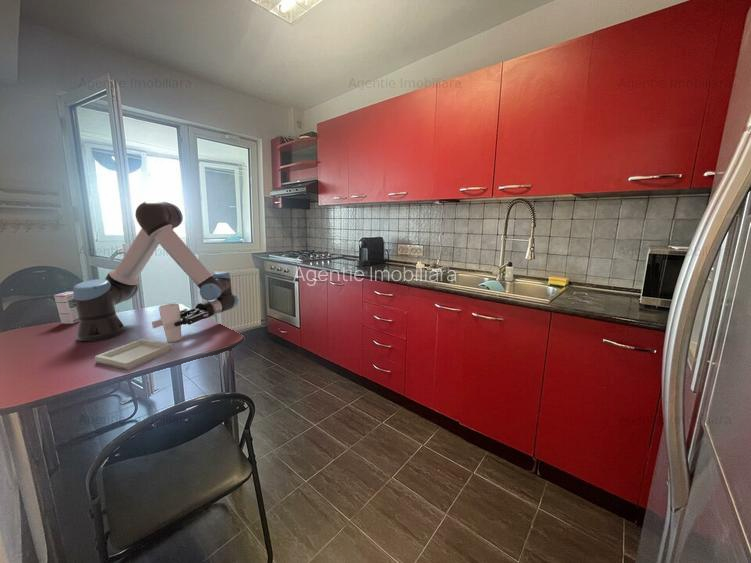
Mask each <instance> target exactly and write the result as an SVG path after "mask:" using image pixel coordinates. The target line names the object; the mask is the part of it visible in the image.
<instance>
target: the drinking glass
mask: <svg viewBox="0 0 751 563" xmlns="http://www.w3.org/2000/svg"><path fill="white" fill-rule="evenodd" d="M158 308H159V309H158V310H159V318H160V319H161V321H162V324H163V328H162V329H163V331H164V335H165V339H166V342H167V343H175V342H179V341H181V340H182V338H183V335H182V325H181V326H178V327H175V328H173V329H170V330H167V331H166V330H165V324H166V323H169V322H171V321H174V320H177V319H181V316H180V311H181V308H180V305H179V303H176V302H174V303H165V304H161V305H160V306H159V307H158ZM181 320H182V319H181Z"/></svg>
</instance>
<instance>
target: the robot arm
mask: <svg viewBox="0 0 751 563" xmlns="http://www.w3.org/2000/svg"><path fill="white" fill-rule="evenodd" d="M183 218H184V216H183V212H182V211H181V210H180V208H179V207H178V206H177V205H176V204H173V203H171V202H168V201H154V200H153V201H152V200H148V201H144V202H142V203H140V204H139V205H138V206H137V207H136V209H135V219H136V221H137V223H138V225H139V226H140V230H139V232H138V234H137V235H136V236H135V238H134V240H133V241H132V243H131V245H130V247H129V248H128V250H127V252H126V253H125V254H124V255H123V257H122V259H121V260H120V262H119V264H118V265H117V267H116V269H111V270H110V271H109V272H108V274H107V275H106V277H105V278H104V279H102V278H101V279H100V278H98V279H97V278H95V279H90V280H86V281H82V282H80V283H78V284H75V285H74V286H73V288H72V292H73V297H74V300H75V304H76V308H77V312H78V316H79V321H78V327H77V332H76V337H77V338H76V339H77V341H79V342H82V341H87V342H96V341H102V340H106V339H110V338H114V337H116V336H118V335H121V334H123V333H124V332H125V326H124V324H123V322H122V321H121V319H120V318H119V317H118V315H117V313H116V307H115V306H116V305H118V304H121V303H123V302H126V301H129V300H131V299H132V298H133V297H135V295H136V294H137V293H138V291H139V283H140V280H139V276H140V275H141V273H142V271H143V270H144V268H145V267H146V265H147V263H148V262H149V260H150V259H151V257H152V256H153V254H154V252H155V251H156V249H157V248H158V247H159V245H160V246H161V247H162V249H163V250H164V251H165V252H166V253H167V254H168V255H169V257H170V258H171V259H172V260H173V261H174V262H175V263H176V265H178V266H179V268H180V269H181V270H183V272H184V273H185V274H186V275H187V276H188V277H189V279H190V280H191V281H192V282H193V283H194V284H195V285H196V287H197V288H198V290H199V295H200V297H201V298H202V300H203V299H204V300H205V301H202V302H200V303H197V304H196V306H195V307H193V308H190V309H188V308H183V309H180V316H181V319H177V320H174V321H171V322H169V323H166V324H165V330H166V331H167V330H170V329H173V328H175V327H178V326H181V327H182V325H189V326H190V325H192V324H195V323H197V322H199V321H201V320H206V319H208V318H211V317H212V316H214V317H215V316H216V315H218V314H221V313H224V312H227V311H229V310H232V309H233V308H235V307H237V306H238V304H239V298H238V296H237V295H236V294H235V293H233V289H232V278H231V274H230V272H228V271H222V270H221V271H215V272H213V274H212V273H211V272H210V271H209V270H208V269H207V267H206V266H205V265H204V264H203V263H202V261H201V260H200V259H199V258H198V257H197V256H196V255H195V254H194V252H193V251H192V250H191V249H190V248H189V247H188V246H187V245H186V243H185V242H184V241H183V240H182V239H181V238H180V237H179V235H178V234H177V233H176V232H175V230H174V229H175V228H177V227H179V226H181V224H182V223H183V220H184V219H183ZM151 325H152V329H157V328H159V327H162V326H163V324H162V321H161V318H159V319H156V320H153V321H151Z"/></svg>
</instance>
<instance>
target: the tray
mask: <svg viewBox="0 0 751 563" xmlns="http://www.w3.org/2000/svg"><path fill="white" fill-rule="evenodd" d="M172 351H173V343H170V342H163V341H159V340H158V341H157V340H152V339H149V338H148V339H147V338H140V339H138V340H135V341H134V340H133V341H132V342H130V343H126V344H123V345H121V346H118V347H116V348H113V349H111V350H108V351H105V352H103V353H100V354H97V355H95V356H94V359H95V362H97V364H100V363H101V365H104V364H105V365H104V366H108V365H109V367H112V368H117V369H122V370H125V371H129V370H131V369H134V368H135V367H138V366H140V365H143V364H145V363H147V362H149V361H151V360H154V359H155V358H158V357H160V356H162V355H164V354H167V353H169V352H172Z"/></svg>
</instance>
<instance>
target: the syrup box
mask: <svg viewBox="0 0 751 563" xmlns="http://www.w3.org/2000/svg"><path fill="white" fill-rule="evenodd" d="M54 301H55V304H56V307H57V310H58V315H59V318H60V322H61V324H62V325H63V324H65V325H66V324H67V325H69V324H70V325H71V324H75V323H79V322H80V321H79V316H78V312H77V308H76V304H75V300H74V297H73V291H65V292H62V293H58V294H54Z"/></svg>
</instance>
